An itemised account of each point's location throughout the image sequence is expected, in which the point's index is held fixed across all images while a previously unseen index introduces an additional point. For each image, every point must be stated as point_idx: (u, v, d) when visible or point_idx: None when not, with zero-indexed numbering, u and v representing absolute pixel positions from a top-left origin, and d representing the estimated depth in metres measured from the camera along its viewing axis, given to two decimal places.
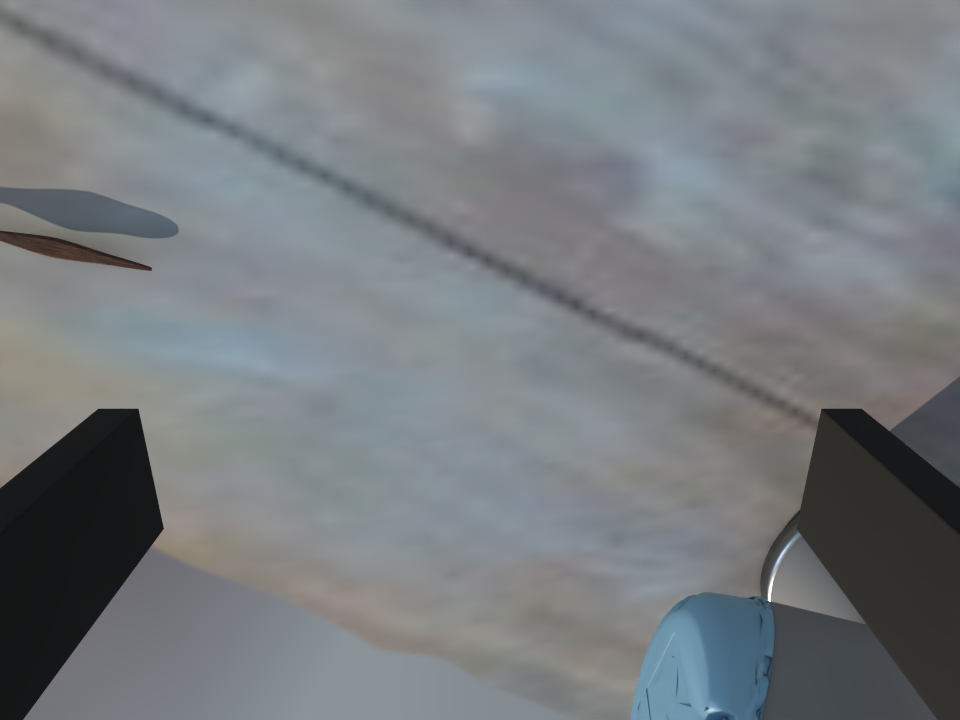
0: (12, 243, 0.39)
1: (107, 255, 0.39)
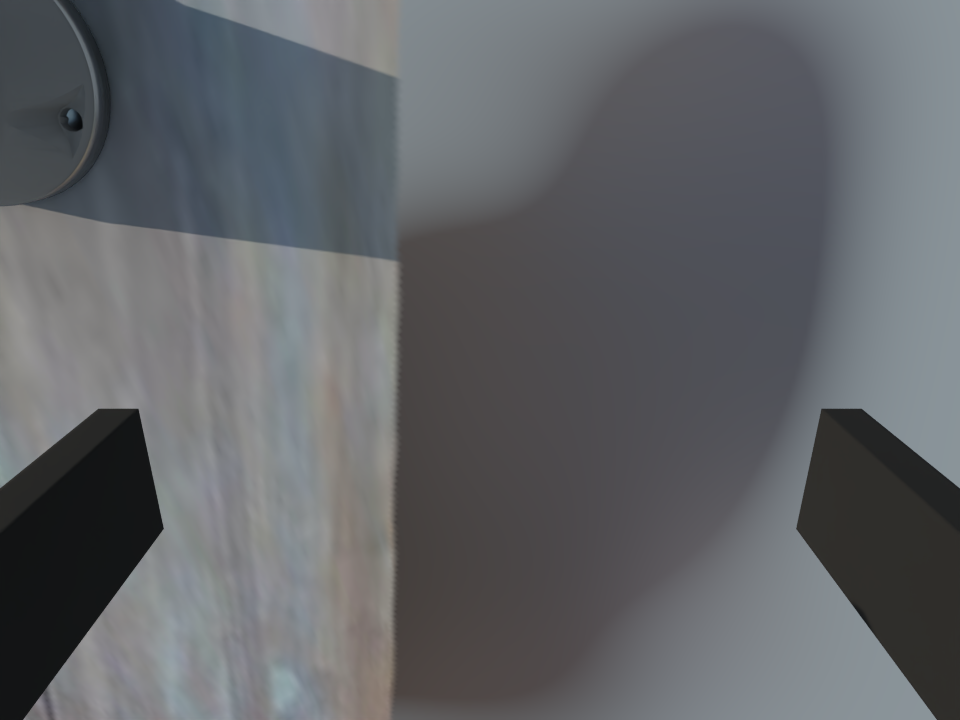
0: None
1: None
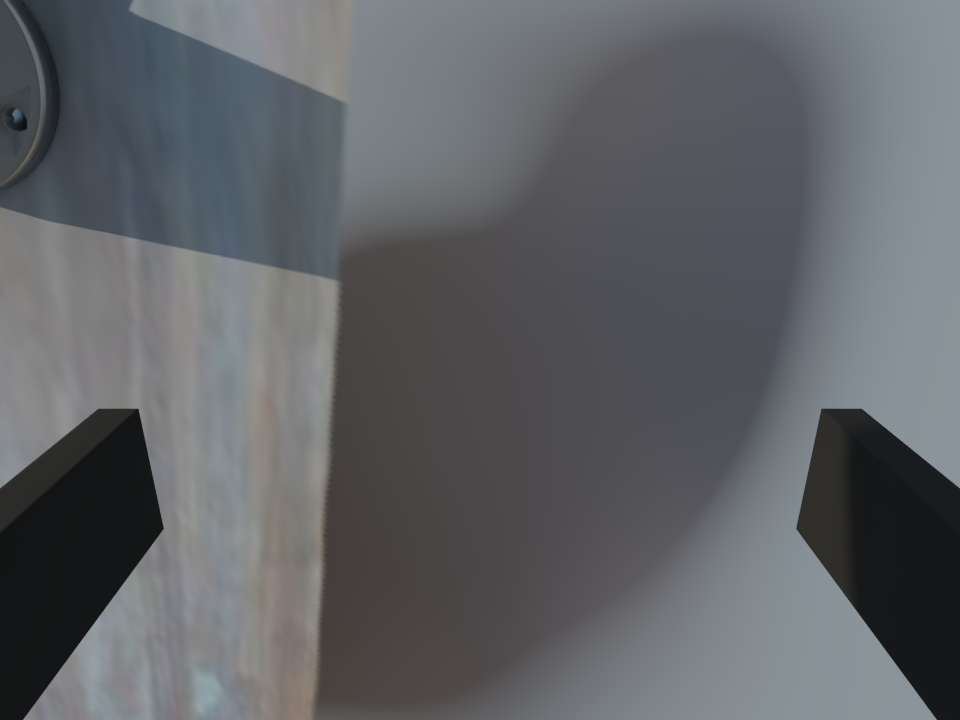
0: None
1: None
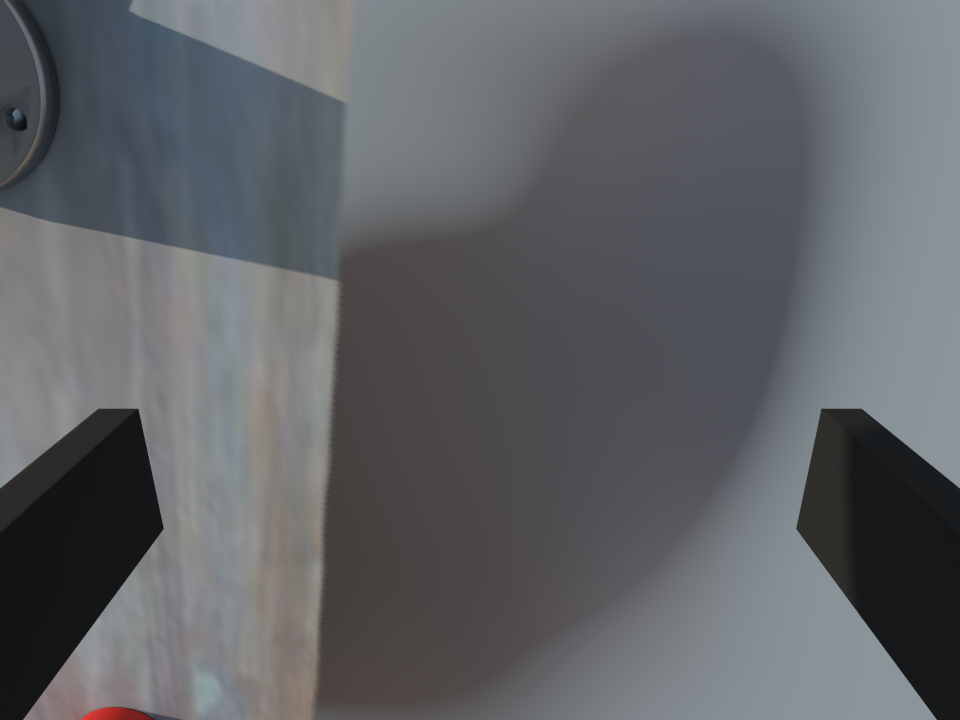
0: None
1: None
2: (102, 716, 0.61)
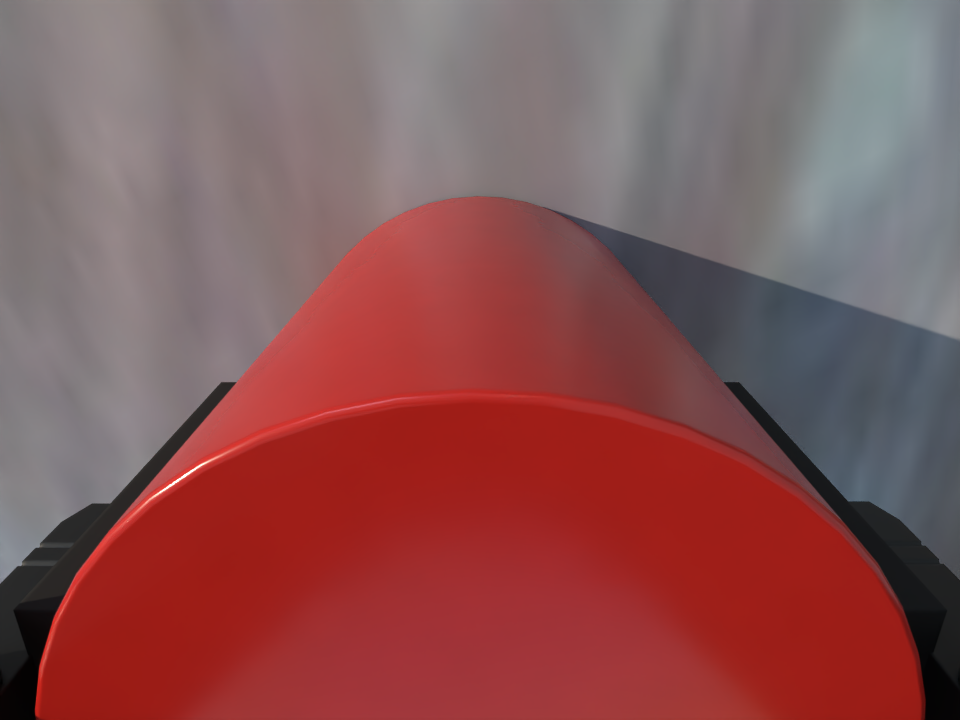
0: None
1: None
2: (454, 203, 0.15)
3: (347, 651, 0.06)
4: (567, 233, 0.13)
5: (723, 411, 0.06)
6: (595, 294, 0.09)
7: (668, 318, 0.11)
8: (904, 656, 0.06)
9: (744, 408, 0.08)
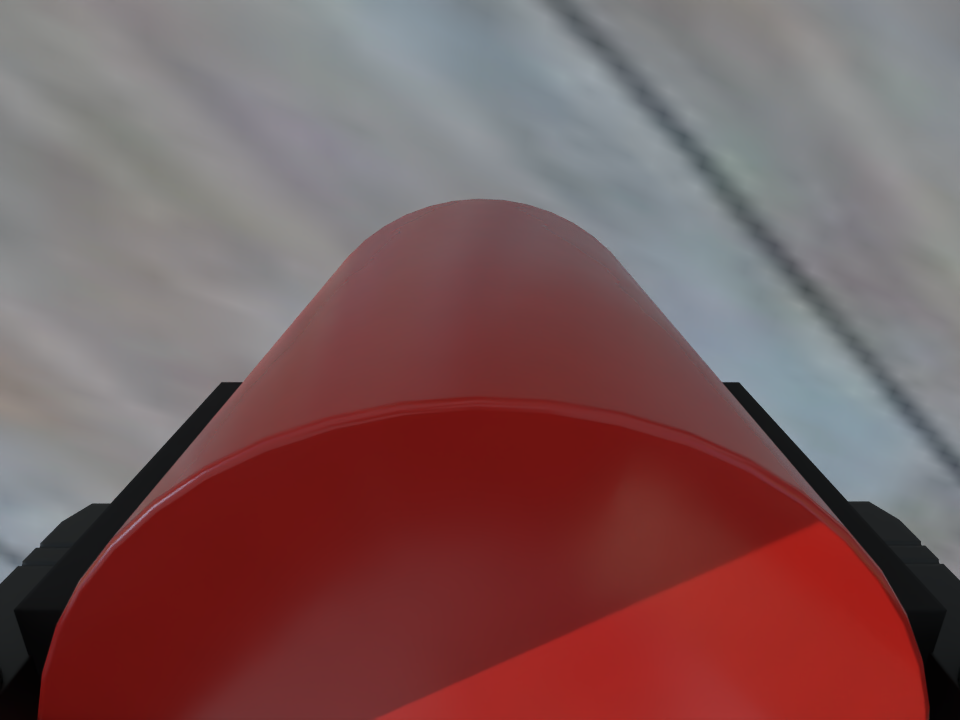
0: None
1: None
2: (455, 206, 0.15)
3: (350, 658, 0.06)
4: (568, 236, 0.13)
5: (726, 417, 0.06)
6: (597, 298, 0.09)
7: None
8: (908, 663, 0.06)
9: (747, 413, 0.08)
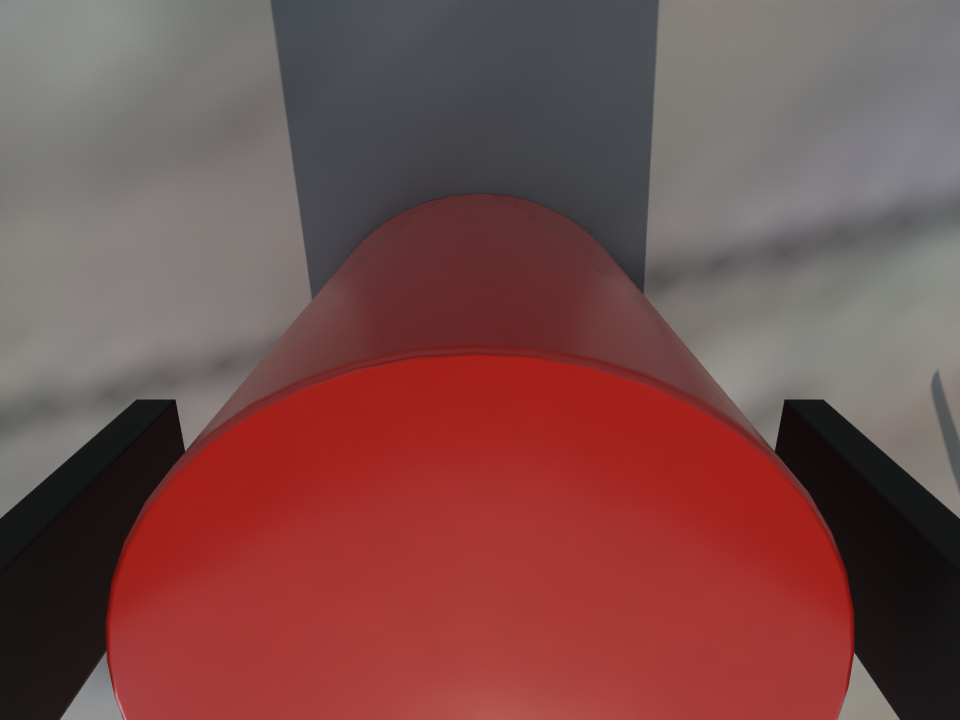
0: None
1: None
2: (456, 200, 0.16)
3: (369, 568, 0.07)
4: (559, 226, 0.15)
5: (683, 369, 0.08)
6: (581, 277, 0.10)
7: (649, 302, 0.12)
8: (833, 573, 0.07)
9: (707, 373, 0.09)
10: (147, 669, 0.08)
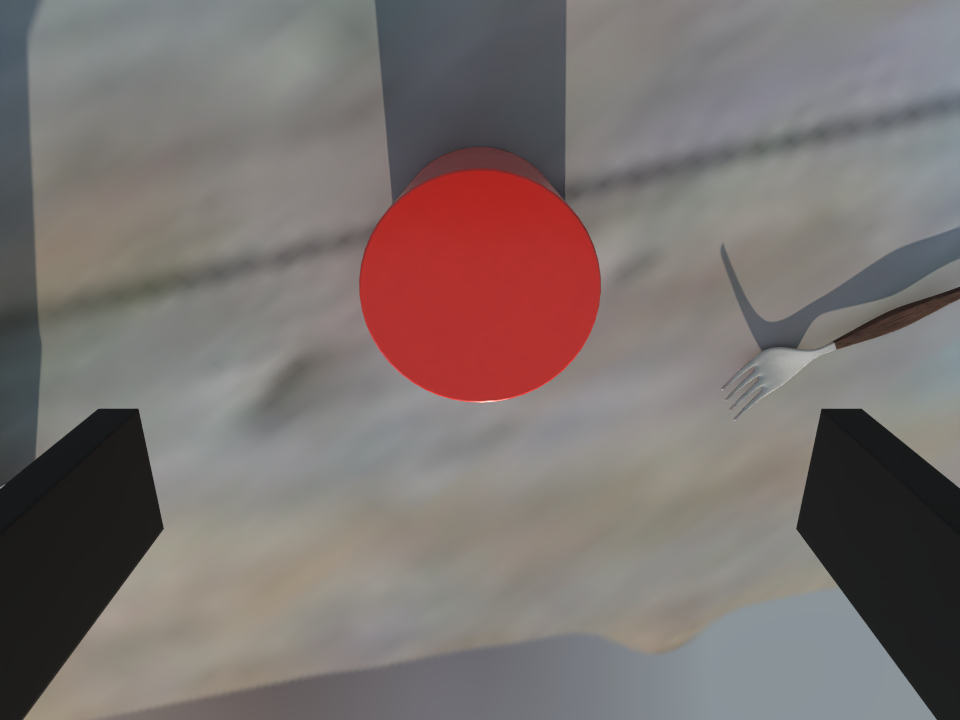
0: (857, 341, 0.37)
1: (952, 292, 0.36)
2: (468, 148, 0.33)
3: (446, 243, 0.24)
4: (517, 158, 0.31)
5: (543, 183, 0.24)
6: (518, 166, 0.27)
7: None
8: (588, 245, 0.24)
9: (559, 195, 0.26)
10: (372, 283, 0.25)
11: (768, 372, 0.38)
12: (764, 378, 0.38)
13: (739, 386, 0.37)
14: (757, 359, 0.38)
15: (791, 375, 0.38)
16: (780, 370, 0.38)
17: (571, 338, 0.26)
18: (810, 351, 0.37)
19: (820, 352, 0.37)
